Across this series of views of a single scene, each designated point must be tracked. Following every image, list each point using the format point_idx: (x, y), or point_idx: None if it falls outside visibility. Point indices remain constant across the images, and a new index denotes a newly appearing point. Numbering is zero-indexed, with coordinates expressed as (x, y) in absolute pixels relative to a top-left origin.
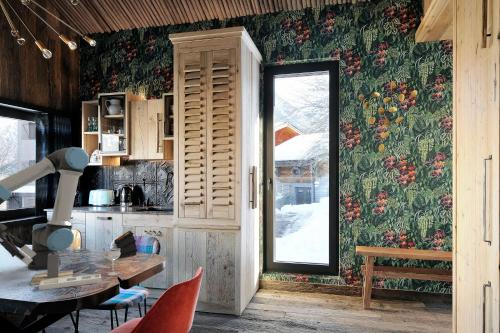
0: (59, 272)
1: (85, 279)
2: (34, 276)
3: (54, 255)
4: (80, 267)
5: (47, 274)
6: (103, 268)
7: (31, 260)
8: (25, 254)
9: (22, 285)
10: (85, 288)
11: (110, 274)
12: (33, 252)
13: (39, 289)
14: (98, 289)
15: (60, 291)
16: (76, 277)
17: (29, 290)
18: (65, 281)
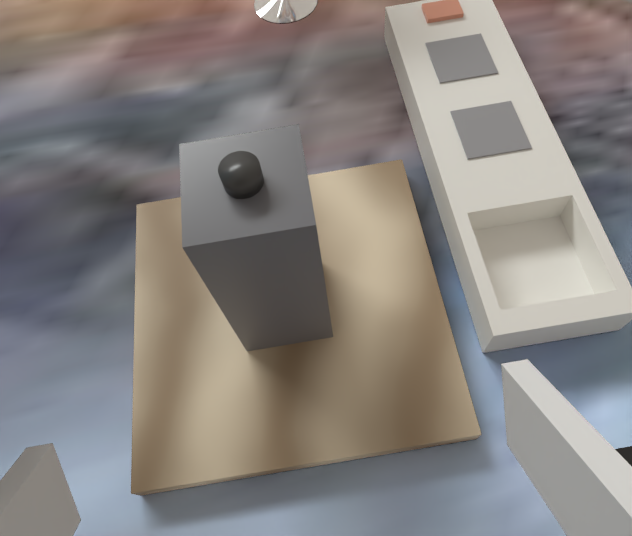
0: (171, 285)
1: (508, 55)
2: (224, 475)
3: (305, 164)
4: (17, 195)
5: (330, 322)
6: (130, 61)
7: (534, 372)
8: (579, 449)
9: (421, 533)
10: (570, 74)
11: (306, 6)
12: (32, 483)
13: (624, 321)
14: (596, 16)
15: (625, 189)
16: (447, 111)
17: (586, 415)
18: (543, 154)
